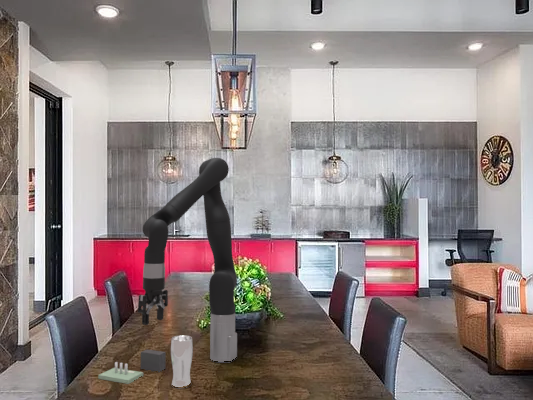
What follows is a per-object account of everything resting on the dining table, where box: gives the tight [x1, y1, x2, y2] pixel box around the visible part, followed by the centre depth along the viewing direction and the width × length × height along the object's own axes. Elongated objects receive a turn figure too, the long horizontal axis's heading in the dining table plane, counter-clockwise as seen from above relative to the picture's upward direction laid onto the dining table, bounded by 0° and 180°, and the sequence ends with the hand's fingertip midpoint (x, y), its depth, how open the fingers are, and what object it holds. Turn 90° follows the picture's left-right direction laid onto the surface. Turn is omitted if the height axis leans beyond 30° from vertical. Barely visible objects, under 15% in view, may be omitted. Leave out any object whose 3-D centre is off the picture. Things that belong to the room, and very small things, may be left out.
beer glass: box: [170, 334, 194, 387], centre depth 158 cm, size 7×7×15 cm
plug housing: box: [140, 348, 167, 373], centre depth 173 cm, size 8×4×6 cm, turn 68°
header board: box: [97, 361, 144, 385], centre depth 165 cm, size 12×8×5 cm, turn 68°
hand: (152, 322), depth 173 cm, fingers open, 8 cm apart
